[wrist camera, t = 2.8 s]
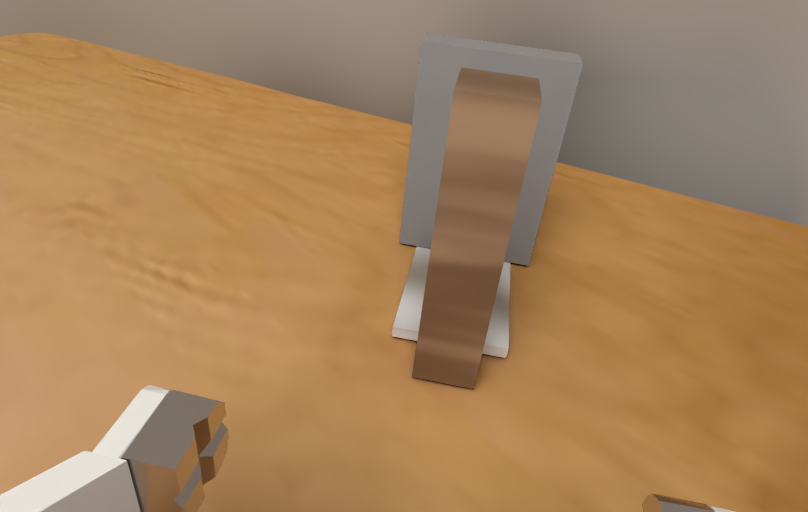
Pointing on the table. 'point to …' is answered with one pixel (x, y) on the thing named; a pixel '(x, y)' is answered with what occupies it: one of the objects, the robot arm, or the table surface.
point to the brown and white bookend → (471, 230)
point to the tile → (432, 121)
